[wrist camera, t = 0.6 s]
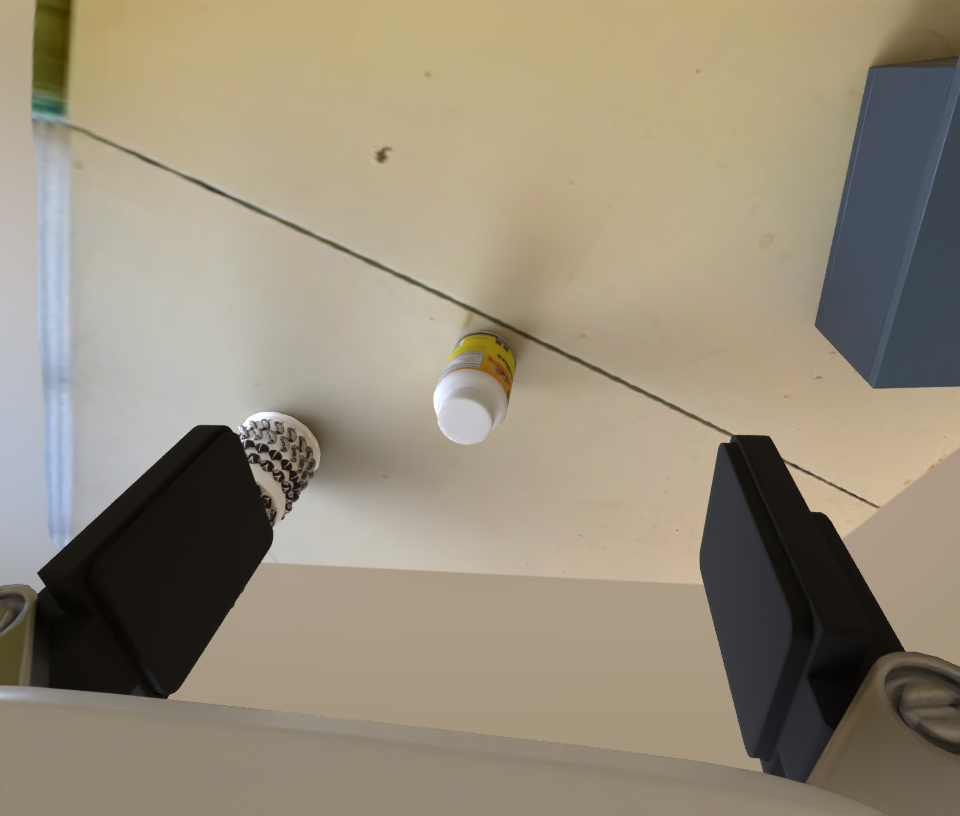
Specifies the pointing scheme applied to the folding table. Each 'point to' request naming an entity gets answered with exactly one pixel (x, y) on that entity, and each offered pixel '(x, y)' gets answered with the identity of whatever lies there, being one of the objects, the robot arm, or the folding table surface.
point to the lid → (928, 275)
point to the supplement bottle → (475, 387)
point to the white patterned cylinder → (279, 459)
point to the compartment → (880, 202)
